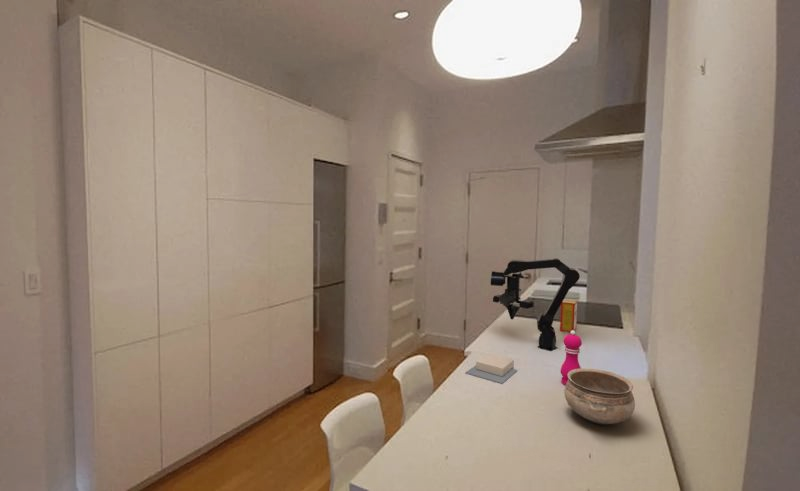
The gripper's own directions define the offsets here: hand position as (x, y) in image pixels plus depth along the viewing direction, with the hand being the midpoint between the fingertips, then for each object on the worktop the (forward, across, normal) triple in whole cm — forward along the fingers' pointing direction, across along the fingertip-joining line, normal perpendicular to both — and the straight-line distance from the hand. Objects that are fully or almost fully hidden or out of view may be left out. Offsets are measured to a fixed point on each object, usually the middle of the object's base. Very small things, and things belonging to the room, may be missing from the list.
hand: (512, 319), depth 182 cm
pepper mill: (+12, +38, -22) cm, 46 cm away
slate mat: (+12, +13, -35) cm, 39 cm away
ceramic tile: (+10, +11, -26) cm, 30 cm away
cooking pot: (+12, +54, -40) cm, 68 cm away
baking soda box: (+12, +8, +43) cm, 46 cm away
